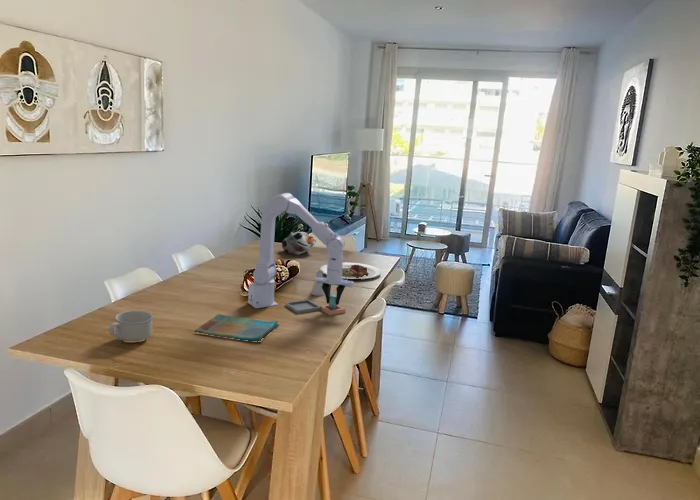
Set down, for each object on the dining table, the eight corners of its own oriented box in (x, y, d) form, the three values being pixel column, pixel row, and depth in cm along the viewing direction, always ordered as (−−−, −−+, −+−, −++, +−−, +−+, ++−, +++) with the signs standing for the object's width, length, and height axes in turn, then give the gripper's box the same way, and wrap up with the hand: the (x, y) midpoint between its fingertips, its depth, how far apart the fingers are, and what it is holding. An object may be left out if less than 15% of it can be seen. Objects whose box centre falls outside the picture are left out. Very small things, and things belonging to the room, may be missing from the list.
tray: (297, 314, 192) (297, 310, 191) (285, 306, 200) (285, 302, 199) (320, 310, 197) (320, 307, 197) (308, 303, 205) (308, 299, 205)
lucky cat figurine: (308, 249, 300) (318, 228, 292) (308, 263, 289) (319, 242, 281) (280, 241, 295) (289, 219, 287) (280, 255, 284) (289, 233, 276)
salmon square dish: (329, 316, 192) (329, 311, 191) (320, 310, 197) (320, 305, 197) (345, 313, 196) (345, 308, 195) (335, 307, 201) (335, 303, 201)
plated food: (313, 278, 241) (313, 271, 241) (327, 263, 270) (327, 257, 270) (376, 284, 237) (377, 277, 236) (384, 269, 265) (384, 262, 265)
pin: (331, 310, 194) (331, 297, 193) (327, 308, 197) (327, 295, 196) (338, 309, 196) (338, 296, 195) (334, 307, 198) (334, 294, 197)
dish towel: (261, 345, 164) (261, 338, 163) (193, 336, 168) (193, 328, 168) (279, 327, 180) (279, 320, 179) (217, 318, 185) (217, 312, 184)
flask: (324, 297, 214) (325, 273, 212) (308, 295, 215) (308, 272, 213) (329, 292, 221) (330, 269, 218) (312, 290, 222) (313, 268, 220)
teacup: (142, 330, 169) (141, 307, 167) (160, 340, 162) (159, 316, 160) (99, 342, 158) (97, 317, 156) (116, 353, 151) (115, 327, 150)
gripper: (355, 268, 195) (353, 302, 198) (318, 264, 198) (317, 298, 201) (352, 272, 189) (350, 308, 191) (313, 268, 191) (312, 303, 194)
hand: (332, 303), depth 196 cm, fingers closed on pin, 3 cm apart
